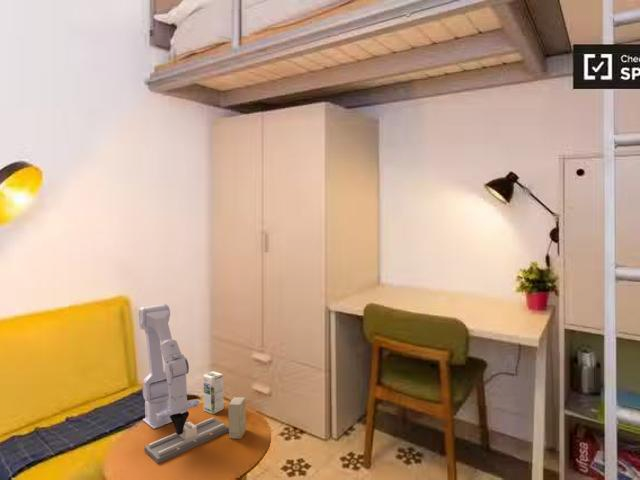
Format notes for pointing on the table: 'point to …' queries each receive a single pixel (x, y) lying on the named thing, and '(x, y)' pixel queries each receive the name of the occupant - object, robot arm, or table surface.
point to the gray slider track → (177, 444)
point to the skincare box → (237, 417)
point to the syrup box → (213, 392)
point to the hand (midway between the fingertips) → (179, 433)
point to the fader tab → (189, 430)
